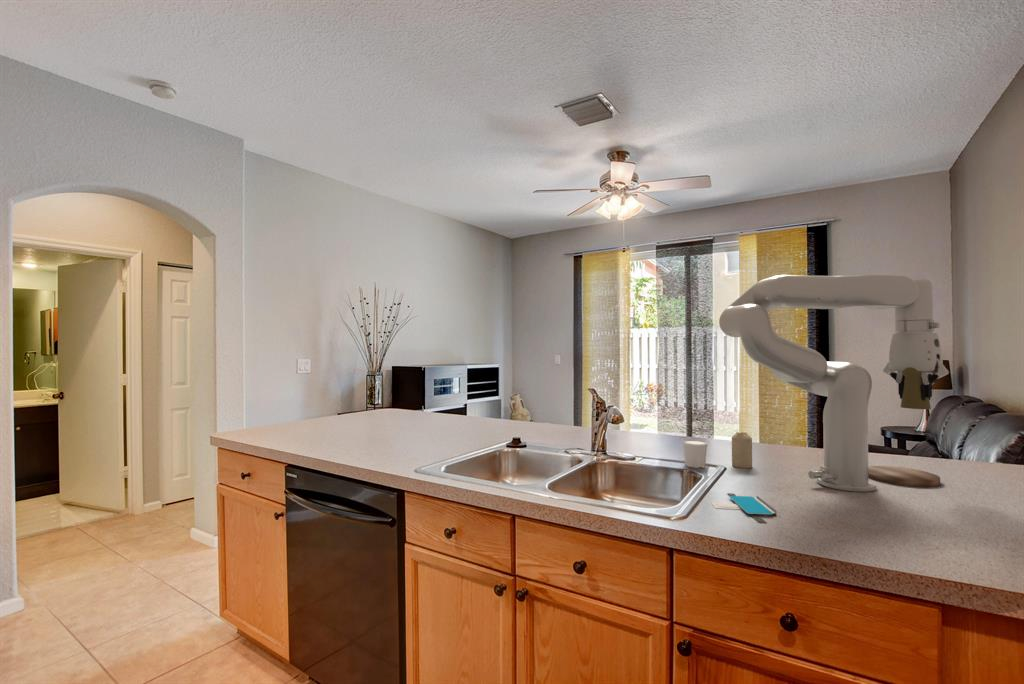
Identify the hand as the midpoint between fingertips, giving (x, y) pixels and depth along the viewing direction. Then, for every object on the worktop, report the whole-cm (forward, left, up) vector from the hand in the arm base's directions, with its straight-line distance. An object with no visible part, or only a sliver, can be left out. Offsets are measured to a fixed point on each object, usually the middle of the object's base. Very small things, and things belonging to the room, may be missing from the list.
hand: (914, 398), depth 126 cm
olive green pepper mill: (0, 0, -2) cm, 2 cm away
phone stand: (-55, -5, -23) cm, 59 cm away
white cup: (-42, +32, -22) cm, 58 cm away
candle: (-29, +28, -22) cm, 46 cm away
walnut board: (+3, +6, -22) cm, 23 cm away
